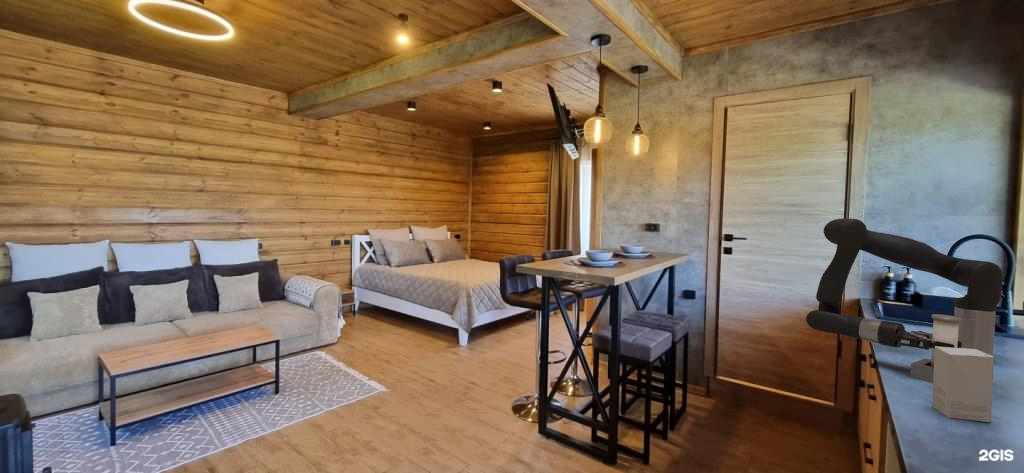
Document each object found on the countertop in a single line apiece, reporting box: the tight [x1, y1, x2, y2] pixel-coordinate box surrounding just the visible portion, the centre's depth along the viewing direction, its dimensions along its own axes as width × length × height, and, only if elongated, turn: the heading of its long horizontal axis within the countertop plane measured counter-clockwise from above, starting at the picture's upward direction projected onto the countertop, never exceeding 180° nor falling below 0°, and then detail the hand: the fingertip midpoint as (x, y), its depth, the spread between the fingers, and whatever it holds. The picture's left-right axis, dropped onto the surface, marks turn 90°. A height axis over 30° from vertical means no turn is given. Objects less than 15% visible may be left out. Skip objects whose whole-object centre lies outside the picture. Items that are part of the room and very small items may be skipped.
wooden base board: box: [908, 357, 934, 385], centre depth 123 cm, size 23×11×5 cm, turn 119°
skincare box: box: [931, 346, 996, 423], centre depth 101 cm, size 8×7×16 cm
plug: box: [930, 313, 961, 367], centre depth 120 cm, size 6×6×18 cm
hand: (957, 347), depth 118 cm, fingers closed on plug, 5 cm apart
